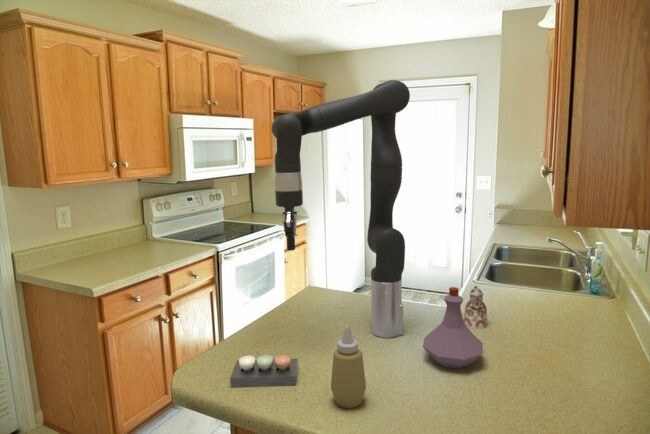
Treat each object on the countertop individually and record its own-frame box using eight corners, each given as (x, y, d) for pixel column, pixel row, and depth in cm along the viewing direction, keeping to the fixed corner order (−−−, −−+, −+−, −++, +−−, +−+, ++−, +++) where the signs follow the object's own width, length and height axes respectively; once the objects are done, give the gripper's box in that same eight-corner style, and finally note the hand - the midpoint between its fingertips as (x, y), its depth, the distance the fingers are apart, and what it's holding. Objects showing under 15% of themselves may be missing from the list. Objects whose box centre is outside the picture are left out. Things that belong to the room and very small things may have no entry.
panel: (297, 367, 118) (297, 358, 118) (296, 385, 109) (295, 376, 109) (237, 368, 118) (237, 360, 118) (230, 387, 109) (230, 378, 109)
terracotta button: (291, 368, 116) (290, 354, 115) (290, 376, 112) (289, 361, 111) (276, 369, 116) (275, 354, 115) (274, 377, 112) (273, 362, 111)
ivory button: (256, 369, 116) (256, 355, 115) (254, 377, 112) (253, 362, 111) (241, 370, 116) (240, 355, 115) (238, 378, 112) (237, 363, 111)
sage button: (274, 369, 116) (273, 354, 115) (272, 377, 112) (271, 362, 111) (258, 369, 116) (258, 355, 115) (256, 377, 112) (255, 362, 111)
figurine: (462, 327, 141) (463, 290, 139) (464, 318, 147) (465, 283, 145) (486, 330, 138) (487, 292, 136) (487, 321, 144) (488, 285, 143)
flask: (409, 362, 119) (410, 290, 116) (438, 341, 131) (439, 275, 128) (469, 382, 108) (471, 304, 105) (494, 357, 121) (497, 286, 117)
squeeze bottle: (329, 392, 106) (327, 321, 103) (363, 390, 106) (362, 318, 103) (333, 413, 98) (330, 335, 95) (369, 410, 98) (368, 333, 95)
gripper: (301, 190, 116) (303, 255, 119) (303, 186, 129) (305, 244, 132) (272, 191, 116) (275, 256, 119) (277, 186, 129) (280, 244, 132)
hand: (291, 249), depth 126 cm, fingers closed
